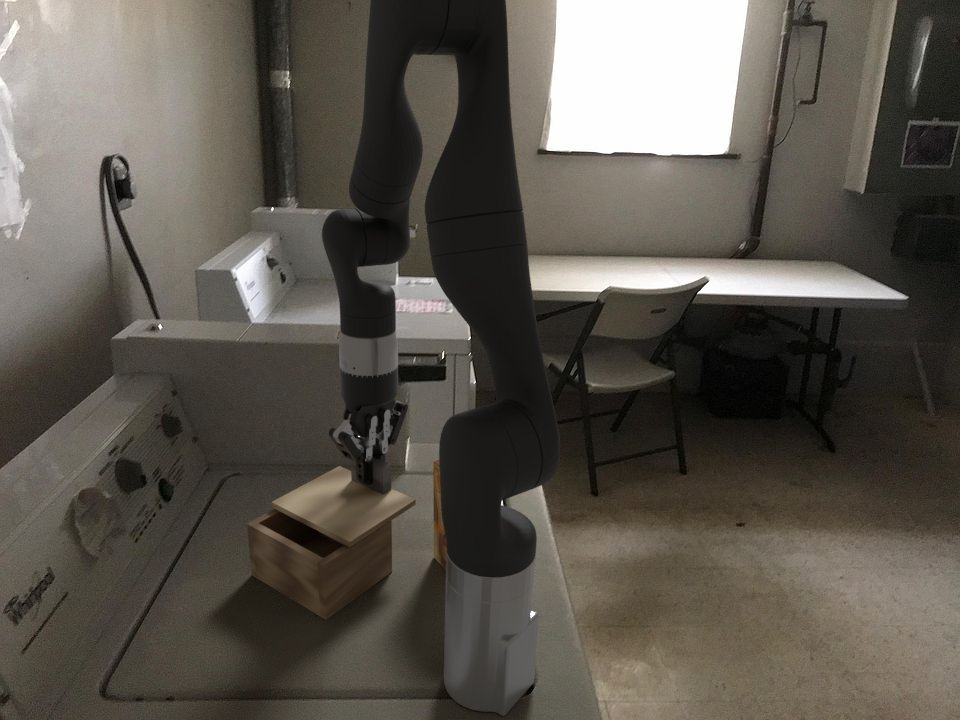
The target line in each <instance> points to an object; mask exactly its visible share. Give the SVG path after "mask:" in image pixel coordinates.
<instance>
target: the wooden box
mask: <svg viewBox="0 0 960 720" xmlns="http://www.w3.org/2000/svg"><path fill="white" fill-rule="evenodd" d="M392 521H393V520H391V521H390V522H388V523H387V524H385V525H384V526H382V527H380V528H379V529H377V530H376V531H374V532H373V533H371V534H370V535H368V536H367V537H365V538H364V539H362V540H361V541H359V542H357V543H356V544H354V545H353V546H351V547H348V546H346V545H344V544H342V543H340V542H338V541H336V540H335V539H333V538H331V537H329V536H327V535H325V534H323V533H321V532H319V531H317V530H315V529H313V528H311V527H309V526H307V525H305V524H303V523H301V522H300V521H298V520H296V519H294V518H292V517H290V516H288V515H286V514H284V513H282V512H280V511H278V510H276V509H274V508H272V509H271V510H270V511H268V512H266V513H264V514H262V515H261V516H259V517H257V518H255V519H253V520H251V521H249V522H248V523H246V528H247V540H248V549H249V550H248V551H249V561H250V570H251V572H250V573H251V576H252V577H254V578H256V579H257V580H258V581H260V582H262V583H264V584H266V585H267V586H269V587H271V588H272V589H273V590H276V591H277V592H278V593H280V594H282V595H283V596H286V597H287V598H288V599H290V600H292V601H293V602H296V603H297V604H299V605H300V606H301V607H304V608H305V609H307V610H309V611H311V612H312V613H314V614H315V615H317V616H319V617H320V618H322V619H324V620H326V621H327V620H328V619H329V618H331V617H332V616H333V615H335V614H336V613H338V612H339V611H340V610H342V609H344V607H346V606H347V605H349V604H350V603H351V602H353V601H354V600H356V599H357V598H359V597H360V596H361V595H362V594H364V593H365V592H366V591H368V590H369V589H371V588H372V587H373V586H374V585H376V584H377V583H379V582H380V581H381V580H383V579H384V578H385V577H387V576H389V575H390V574H391V573H393V544H392V542H393V541H392V540H393V539H392V538H393V536H392V535H393V534H392V532H393V530H392V525H393V524H392Z"/></svg>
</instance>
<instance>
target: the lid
mask: <svg viewBox="0 0 960 720" xmlns="http://www.w3.org/2000/svg"><path fill="white" fill-rule="evenodd" d="M372 460H373V483H372V484H370V485H366V484H363V483H361V482H359V480H357V478H356V462H354V461H352V460H350V469H347V468H345V467H342V466H341V465H339V466H337V467H334V468H333V469H331V470H329V471H328V472H325V473H323V474H322V475H320V476H318V477H316V478H314V479H313V480H311V481H308V482H306V483H305V484H303V485H301V486H299V487H297V488H295V489H293V490H291V491H290V492H287V493H286V494H284V495H282V496H280V497H278V498H276V499H274V500H273V501H271V502H270V503H271V508H272V509H276V510H278V511H280V512H282V513H284V514H286V515H288V516H290V517H292V518H294V519H296V520H298V521H300V522H301V523H303V524H305V525H307V526H309V527H311V528H313V529H315V530H317V531H319V532H321V533H323V534H325V535H327V536H329V537H331V538H333V539H335V540H336V541H338V542H340V543H342V544H344V545H346V546H348V547H351V546H353V545H354V544H356V543H357V542H359V541H361V540H362V539H364V538H365V537H367V536H368V535H370V534H371V533H373V532H374V531H376V530H377V529H379V528H380V527H382V526H384V525H385V524H387V523H388V522H390V521H393V520H394V519H396V518H397V517H399V516H401V515H402V514H404V513H405V512H406V511H408V510H410V509H412V507H414V506H416V501H417V500H416V498H414V497H411V496H408V495H407V494H404V493H402V492H400V491H397V490H395V489H393V488H392V464H391V463H389V462H387V461H386V460H385V461H382V460H380V459H377V458H375V457H373V456H372Z"/></svg>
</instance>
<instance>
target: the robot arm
mask: <svg viewBox="0 0 960 720" xmlns="http://www.w3.org/2000/svg"><path fill="white" fill-rule="evenodd" d="M368 15H369V19H368V30H367V31H368V32H367V45H366V56H365V74H364V75H365V77H364V95H363V96H364V97H363V112H362V113H363V115H362V123H361V129H360V131H361V132H360V136H359V140H358V146H357V149H356V153H355V158H354V162H353V166H352V169H351V176H350V179H349V184H348V185H349V187H348V193H349V198H350V200H351V202H352V204H353V205H354V207H355V208H343V209H336V210H333V211H332V212H331V213H330V214H328V216H327V217H326V218H325V220H324V221H323V222H324V223H323V224H322V225H323V226H322V229H321V238H322V239H321V240H322V244H323V247H324V248H323V249H324V252H325V254H326V256H327V260H328V262H329V265H330V267H331V271H332V274H333V278H334V282H335V287H336V290H337V295H338V302H339V303H338V304H339V319H340V320H339V321H340V324H339V325H340V326H339V327H340V332H339V334H340V336H339V344H338V349H339V350H338V351H339V353H338V355H339V357H338V358H339V378H340V379H339V381H340V384H339V385H340V396H341V399H342V401H343V402H344V404H345V408H344V411H343V414H342V419H343V421H342V422H341V424H340V425H339V426H338V427H337V428H335V427H332V428H330V429H329V431H328V436H329V437H330V439H331V440H332V442H333V443H334V444H335V446H336V448H337V449H338V450H339V452H340V453H341V455H342V457H344V459H347V460H350V461H351V460H352V461H354V462H356V478H357V480H359V482H361V483H363V484H366V485H370V484H372V483H373V460H372V456H373V457H375V458H377V459H380V460H382V461H385V462H386V454H387V453H388V450H389V446H391V445H392V446H394V445H395V444H396V443H397V440H398V437H399V435H400V431H401V430H402V426H403V423H404V420H405V418H406V415H407V412H408V409H409V405H408V404H407V403H405V402H401V401H399V400H396V397H398V394H399V345H398V339H397V330H396V329H397V328H396V327H397V325H396V324H397V323H396V322H397V318H396V317H397V316H396V312H397V311H396V309H397V308H396V307H397V306H396V305H397V303H396V301H397V300H396V293H395V291H394V289H393V287H392V286H391V285H389V284H387V283H384V282H379V281H376V280H375V281H374V280H366V279H362V278H360V277H359V276H360V275H359V273H358V268H360V267H361V268H364V267H373V266H388V265H392V264H396V263H399V261H401V260H402V259H404V257H405V256H406V254H407V253H408V252H409V249H410V246H411V245H410V244H411V234H410V204H411V203H410V202H411V196H412V193H413V190H414V188H415V187H414V186H415V183H416V181H417V177H418V174H419V171H420V169H421V165H422V161H423V152H424V145H423V137H422V136H423V135H422V132H421V129H420V127H419V124H418V122H417V118H416V116H415V114H414V111H413V109H412V106H411V104H410V102H409V99H408V96H407V92H406V87H405V77H406V72H407V70H408V66H409V63H410V60H411V59H412V57H413V55H415V56H416V55H417V56H422V55H423V56H426V55H427V56H454V59H455V63H456V72H457V83H458V86H457V88H458V89H457V90H458V91H457V92H458V93H457V95H458V96H457V100H458V102H457V108H456V115H455V119H454V122H453V126H452V128H451V131H450V134H449V136H448V139H447V142H446V144H445V146H444V148H443V151H442V152H441V155H440V157H439V160H438V162H437V164H436V167H435V169H434V171H433V173H432V174H433V175H432V177H431V179H430V182H429V185H428V189H427V192H426V196H425V202H424V217H425V223H426V232H427V238H428V245H429V254H430V260H431V267H432V270H433V273H434V277H435V279H436V280H437V281H436V282H437V283H438V285H439V287H440V289H441V290H442V291H443V293H444V295H445V297H447V299H448V300H449V302H450V303H451V304H452V306H453V308H454V309H455V310H456V311H457V312H458V314H459V316H461V318H462V319H463V320H464V321H465V322H466V324H467V325H468V326H469V327H470V329H471V330H472V331H473V333H474V334H475V335H476V338H478V340H479V342H480V344H481V345H482V347H483V349H484V351H485V353H486V356H487V359H488V362H489V365H490V369H491V374H492V377H493V384H494V389H495V402H493V403H489V404H486V405H483V406H479V407H475V408H472V409H468V410H464V411H461V412H458V413H455V414H453V415H451V416H450V417H449V418H448V419H447V420H446V421H445V423H444V425H443V427H442V429H441V434H440V438H439V446H438V447H439V449H438V460H439V466H440V486H441V513H442V521H443V526H444V530H445V534H446V541H447V548H446V549H447V552H446V570H445V595H444V596H445V600H444V601H445V605H444V606H445V608H444V643H443V644H444V646H443V653H444V654H443V655H444V656H443V683H444V684H443V685H444V687H445V690H446V692H447V693H448V695H449V696H450V698H451V699H453V701H455V702H456V703H457V704H459V705H461V706H462V707H464V708H467V709H470V710H472V711H475V712H476V711H477V712H481V713H482V712H484V713H485V712H486V713H487V712H492V713H493V712H494V713H496V714H499V715H500V716H502V717H504V716H506V715H507V714H508V713H509V711H510V710H511V709H512V708H513V707H514V706H515V705H516V704H517V702H518V701H519V700H520V699H521V698H522V697H523V696H524V694H525V693H526V692H527V691H528V690H529V688H531V686H532V685H534V683H535V673H536V671H535V670H536V662H537V661H536V659H537V658H536V657H537V647H538V634H539V623H540V622H539V620H540V614H539V613H538V612H537V611H534V610H533V609H532V608H533V597H534V594H533V593H534V580H535V568H536V558H537V557H536V555H537V537H538V536H537V531H536V528H535V525H534V523H533V521H531V520H530V519H529V518H528V517H527V516H526V515H525V514H523V513H522V512H521V511H518V510H516V509H514V508H512V507H509V506H507V505H502V501H505V500H507V499H510V498H512V497H515V496H518V495H521V494H523V493H525V492H528V491H531V490H534V489H536V488H538V487H541V486H542V485H543V486H544V485H545V484H547V483H548V482H550V481H551V480H552V479H553V478H554V477H555V475H556V473H557V471H558V469H559V465H560V460H561V438H560V432H559V426H558V420H557V416H556V412H555V411H556V409H555V406H554V401H553V397H552V393H551V388H550V384H549V378H548V375H547V370H546V366H545V361H544V357H543V351H542V347H541V341H540V337H539V330H538V329H539V328H538V323H537V317H536V316H537V315H536V311H535V303H534V296H533V289H532V287H533V286H532V283H531V282H532V280H531V275H530V263H529V262H530V261H529V250H528V249H529V248H528V247H529V246H528V241H527V240H528V239H527V231H526V223H525V214H524V207H523V201H522V195H521V189H520V188H521V187H520V183H519V181H520V180H519V176H518V167H517V157H516V152H515V151H516V150H515V149H516V148H515V141H514V131H513V123H512V121H513V120H512V109H511V108H512V107H511V106H512V105H511V93H510V92H511V89H510V88H511V87H510V69H509V61H510V60H509V37H508V35H509V34H508V13H507V0H370V4H369V14H368ZM391 426H392V429H391V428H390V427H391ZM362 449H363V450H362Z"/></svg>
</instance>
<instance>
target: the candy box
mask: <svg viewBox="0 0 960 720" xmlns="http://www.w3.org/2000/svg"><path fill="white" fill-rule="evenodd" d="M432 466H433V468H432V469H433V470H432V472H433V480H432V481H433V498H432V499H433V558H434V559H435V560H436V561H437V562H438V563H439V565H441V567H442V568H443V569H444V570H445V571H446V552H447V549H446V548H447V541H446V534H445V530H444V526H443V521H442V513H441V486H440V466H439V459H437V460H434V461H433V464H432Z"/></svg>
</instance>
